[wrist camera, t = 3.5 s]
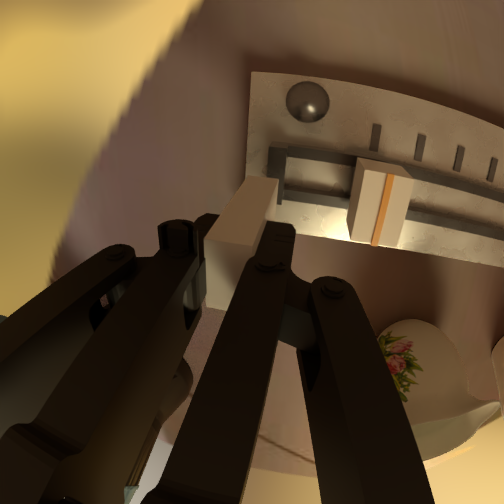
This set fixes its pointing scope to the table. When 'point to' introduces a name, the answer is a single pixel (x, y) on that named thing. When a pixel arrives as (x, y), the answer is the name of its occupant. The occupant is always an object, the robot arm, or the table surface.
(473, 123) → the console
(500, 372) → the cup
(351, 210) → the fader
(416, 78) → the table surface
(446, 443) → the pitcher
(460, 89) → the table surface
